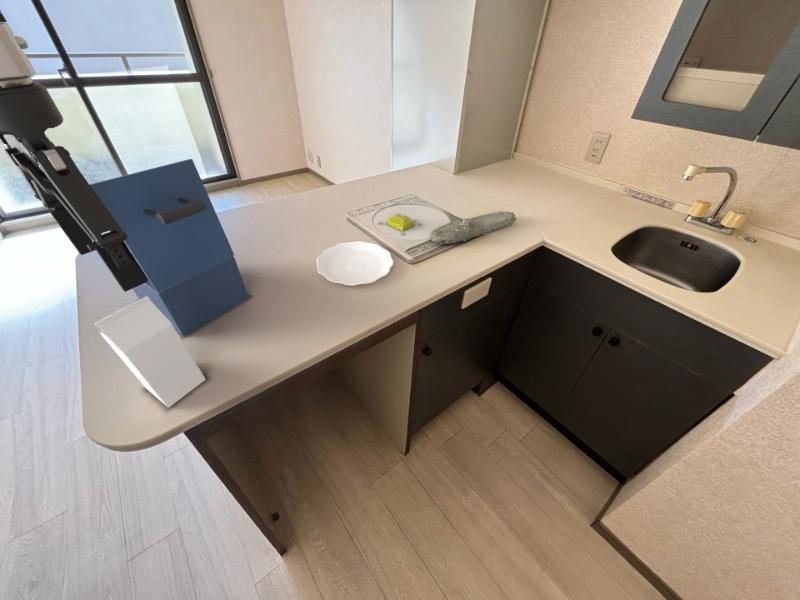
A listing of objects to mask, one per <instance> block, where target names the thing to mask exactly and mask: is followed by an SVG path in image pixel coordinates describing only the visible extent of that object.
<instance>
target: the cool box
mask: <svg viewBox="0 0 800 600" xmlns="http://www.w3.org/2000/svg"><path fill="white" fill-rule="evenodd" d="M131 254H132V253H131ZM133 257H134V256H133ZM134 259H135V258H134ZM135 260H136V259H135ZM136 262H137V261H136ZM137 264H138V262H137ZM138 265H139V264H138ZM139 267H140V266H139ZM140 269H141V267H140ZM141 270H142V269H141ZM142 272H143V270H142ZM143 274H144V275H145V273H144V272H143ZM145 277H146V279H147V280H148V282H146V283H144V284H141V285H139V286H137V287H135V288H133V289H132V290H133V292H134V294H135V295H136V296H137V298H138V300H140V299H142V298H144V297H146V296H148V297H149V299H150V300H151V302H152V303H153V304H154V305H155V306H156V307H157V308H158V309H159V310H160V311H161V312H162V313H163V315H164V316H165V317H166V318H167V319H168V320H169V321H170V322H171V323H172V325H173V326H174V328H175V330H176V331H177V333H178V334H179V335H181V336H182V337H184V338H185V337H186V336H188V335H190V334H192V333H193V332H195V331H197V330H198V329H200V328H201V327H203V326H205V325H206V324H208V323H210V322H212V321H213V320H215V319H216V318H218V317H220V316H222V315H223V314H225V313H226V312H228V311H230V310H231V309H233V308H235V307H236V306H238V305H240V304H242V303H243V302H245V301H246V300H248V299H250V296H249V294H248V291H247V288H246V285H245V283H244V279H243V278H242V274H241V272H240V269H239V267H238V264H237V261H236V258H235V255H234V256H232V257H230V258H228V259H226V260H224V261H222V262H219V263H217V264H215V265H213V266H211V267H209V268H207V269H205V270H203V271H201V272H199V273H197V274H195V275H193V276H191V277H189V278H187V279H185V280H182V281H180V282H178V283H176V284H174V285H172V286H170V287H168V288H166V289H164V290H162V291H160V292H157V291H156V290H155V289H154V287H153V286H152V284H151V282H150V281H149V279H148V278H147V276H146V275H145Z"/></svg>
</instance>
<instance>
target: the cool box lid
mask: <svg viewBox="0 0 800 600" xmlns="http://www.w3.org/2000/svg"><path fill="white" fill-rule="evenodd" d="M89 185H90V186H91V187H92V189H93V190H94V192H95V193H96V194H97V196H98V197H99V199H100V200H101V201H102V203H103V204H104V205H105V207H106V208H107V210H108V211H109V212H110V214H111V215H112V217H113V218H114V219H115V221H116V222H117V223H118V225H119V226H120V228H121V229H122V230H123V232H125V233H126V235H127V237H128V238H127V240H124V242H125V244H126V245H127V247H128V249H129V250H130V252H131V253H132V255H133V256H134V258H135V259H136V261H137V262H138V264H139V266H140V267H141V269H142V270H143V272H144V273H145V275H146V276H147V278H148V279H149V281H150V282H151V284H152V286H153V287H154V289H155V290H156V291H157V292H160V291H162V290H164V289H166V288H168V287H170V286H172V285H174V284H176V283H178V282H180V281H182V280H185V279H187V278H189V277H191V276H193V275H195V274H197V273H199V272H201V271H203V270H205V269H207V268H209V267H211V266H213V265H215V264H217V263H219V262H222V261H224V260H226V259H228V258H230V257H232V256H234V257H235V253H234V251H233V249H232V246H231V244H230V242H229V240H228V237H227V235H226V233H225V230H224V228H223V226H222V223H221V221H220V219H219V217H218V215H217V212H216V210H215V208H214V205H213V203H212V201H211V198H210V196H209V193H208V192H207V189H206V187H205V185H204V183H203V179H202V178H201V176H200V173H199V171H198V169H197V167H196V165H195V162H194V160H193V159H192V158H188V159H183V160H180V161H176V162H172V163H168V164H164V165H160V166H157V167H151V168H149V169H144V170H141V171H136V172H133V173H129V174H125V175H121V176H116V177H113V178H109V179H105V180H101V181H96V182H93V183H89Z"/></svg>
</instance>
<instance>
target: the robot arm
mask: <svg viewBox="0 0 800 600" xmlns="http://www.w3.org/2000/svg"><path fill="white" fill-rule="evenodd" d="M13 31H14V30H12V28H11V27H10V26H9V24H8V21H7V19H6V18H5V16H4V14H3V13H2V10H1V9H0V144H1V145H2V146H3V147H4V149H3V151H4V153H5V154H6V156H7V157H8V158H9V159H10V161H11V162H12V163H13V164H14V165H15V166H16V168H17V170H18V171H19V172H20V174H21V175H22V177H23V178H24V180H25V182H26V183H27V185H28V186H29V188H30V190H31V191H32V194H33V196H34V197H35V199H37V200H39V201H40V202H41V203H42V206H44V207H45V208H47V210H49V211H48V212H49V214H50V215H51V216H52V218H53V219H54V220H55V223H56V224H57V225H58V226H59V228H60V229H61V230H62V232H63V233H64V234H65V236H66V237H67V239H68V240H69V241H70V242H71V244H72V245H73V247H75V249H76V251H77V252H78V254H79V255H81V256H83V255H86V254H90V253H92V252H94V251H96V253H97V254H98V255H99V257H100V259H101V260H102V262H103V264H104V265H105V266H106V267H107V269H108V270H109V272H110V273H111V275H112V276H113V278H114V279H115V281H116V282H117V283H118V285H119V287H120V288H121V290H122V291H124V292H125V293H126V292H128V291H131V290H133V288H135V287H137V286H139V285H141V284H144V283H146V282H148V280H147V279H146V277H145V275H144V274H143V272H142V270H141V269H140V267H139V265H138V264H137V262H136V260H135V259H134V257H133V255H132V254H131V252H130V250H129V249H128V247H127V245H126V244H125V242H124V240H127V238H128V237H127V235H126V233H125V232H123V230H122V229H121V228H120V226H119V225H118V223H117V222H116V221H115V219H114V218H113V217H112V215H111V214H110V212H109V211H108V210H107V208H106V207H105V205H104V204H103V203H102V201H101V200H100V199H99V197H98V196H97V194H96V193H95V192H94V190H93V189H92V187H91V186H90V185H89V184H90V183H89V182H88V180H87V179H86V178H85V176H84V175H83V174H82V172H81V171H80V169H79V168H78V166H77V165H76V163H75V162H74V160H73V158H72V157H71V153H70V152H69V150H68V149H66V148H65V147H64V146H63V145H55V143H54V142H52V141H51V140H50V138H49V137H48V136H47V135H46V133H45V132H46V131H48V129H54V128H57V127H59V126H61V125H62V124H63V122H64V117H63V115H62V113H61V112H60V110H59V108H58V107H57V105H56V103H55V101H54V99H53V98H52V96H51V94H50V92H49V91H48V88H47V87H46V86H45V85H43V84H42V83H41V82H39V81H36V80H35V81H34V80H33V77H34V76H35V75H36V73H37V71H36V70H35V68H34V66H33V64H32V63H31V61H30V59H29V57H28V56H27V54H26V53H25V52H24V51H23V50H25V49H26V50H27V49H29V44H28V42H27V40H26V39H25V38H24V37H22V36H18V35H14V32H13ZM51 209H52V210H51Z"/></svg>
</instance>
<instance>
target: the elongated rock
mask: <svg viewBox="0 0 800 600" xmlns="http://www.w3.org/2000/svg"><path fill="white" fill-rule="evenodd" d="M516 221H517V217H516V214H515V213H514V212H511V211H499V210H498V211H494V212H491V213H485V214H482V215H481V214H480V215H479V216H474V217H468V218H457V219H455V220H453V221H451V222H447V223H445V224H443V225H439V226H438V227H436V228H434V229H432V230H431V231H430V232H429V239H430V241H431V242H433V243H435V244H439V245H449V244H457V243H459V242H467V241H468V240H472V239H473V238H476V237H479V236H481V235H483V234H484V233H485V234H486V233H492V231H496V230H499V229H502V228H506V227H508V226H511V225H512V224H514V222H516Z"/></svg>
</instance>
